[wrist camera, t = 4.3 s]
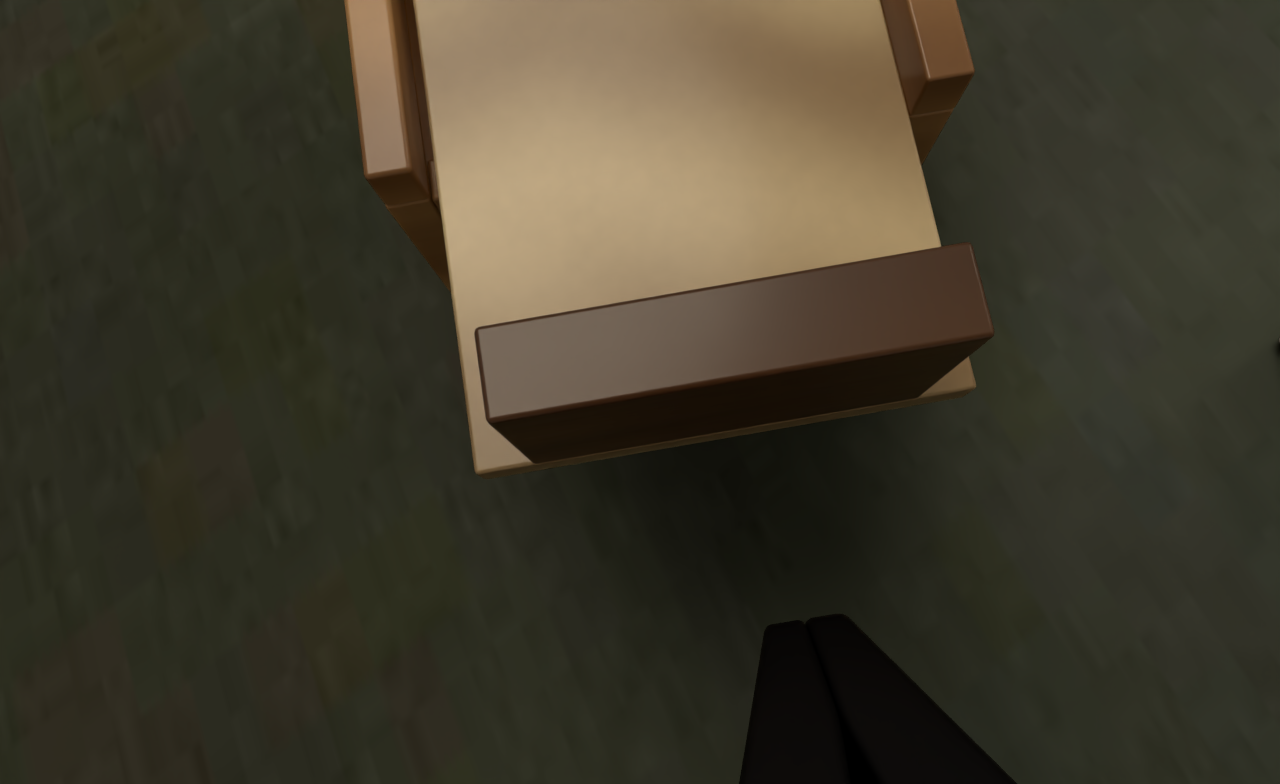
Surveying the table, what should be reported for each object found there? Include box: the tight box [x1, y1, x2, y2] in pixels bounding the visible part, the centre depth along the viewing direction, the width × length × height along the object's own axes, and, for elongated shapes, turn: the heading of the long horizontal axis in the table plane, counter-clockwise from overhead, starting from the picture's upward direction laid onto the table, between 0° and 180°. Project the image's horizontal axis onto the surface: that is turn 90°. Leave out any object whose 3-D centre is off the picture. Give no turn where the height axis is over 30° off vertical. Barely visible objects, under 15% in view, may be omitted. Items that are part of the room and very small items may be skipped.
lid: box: [413, 0, 994, 479], centre depth 14 cm, size 12×8×4 cm, turn 9°
